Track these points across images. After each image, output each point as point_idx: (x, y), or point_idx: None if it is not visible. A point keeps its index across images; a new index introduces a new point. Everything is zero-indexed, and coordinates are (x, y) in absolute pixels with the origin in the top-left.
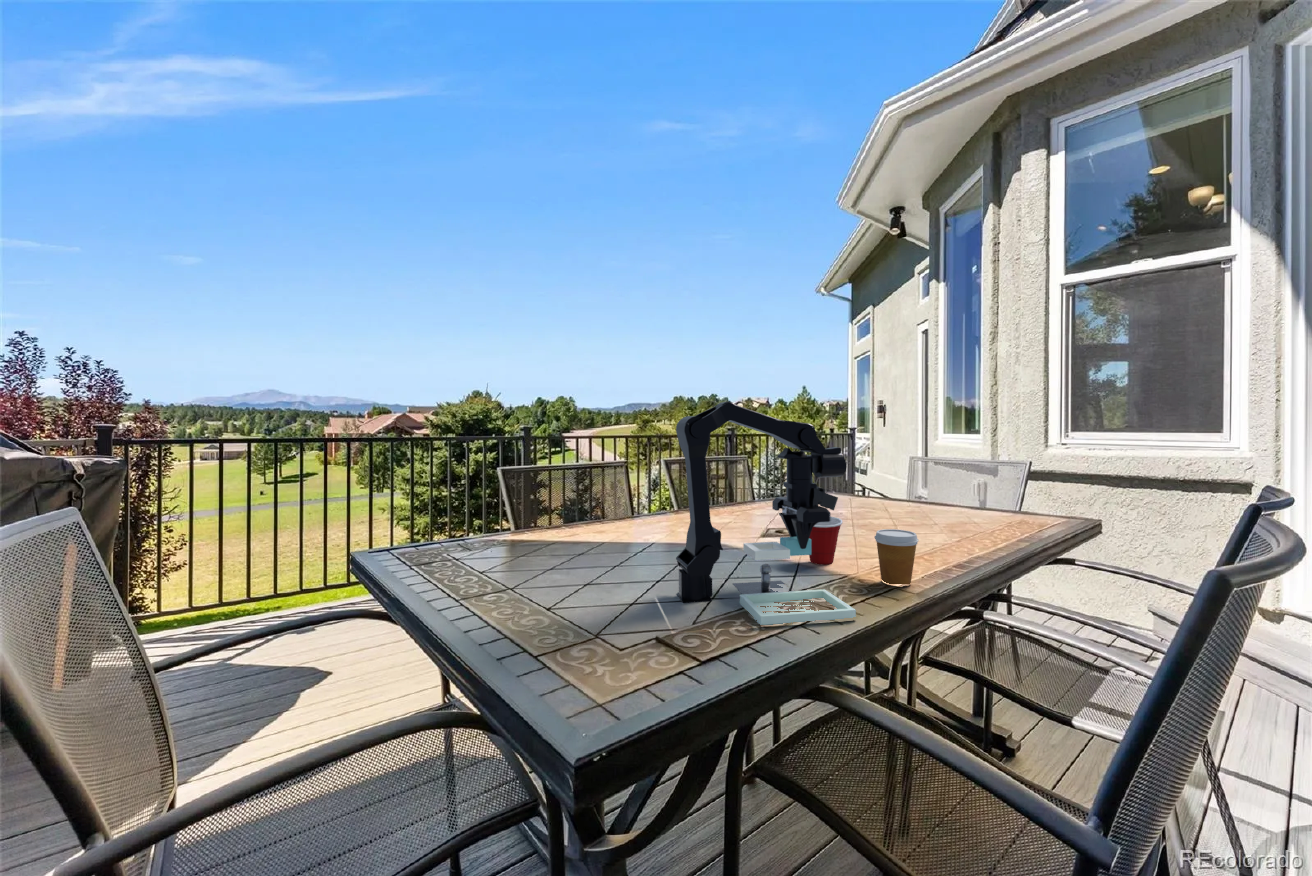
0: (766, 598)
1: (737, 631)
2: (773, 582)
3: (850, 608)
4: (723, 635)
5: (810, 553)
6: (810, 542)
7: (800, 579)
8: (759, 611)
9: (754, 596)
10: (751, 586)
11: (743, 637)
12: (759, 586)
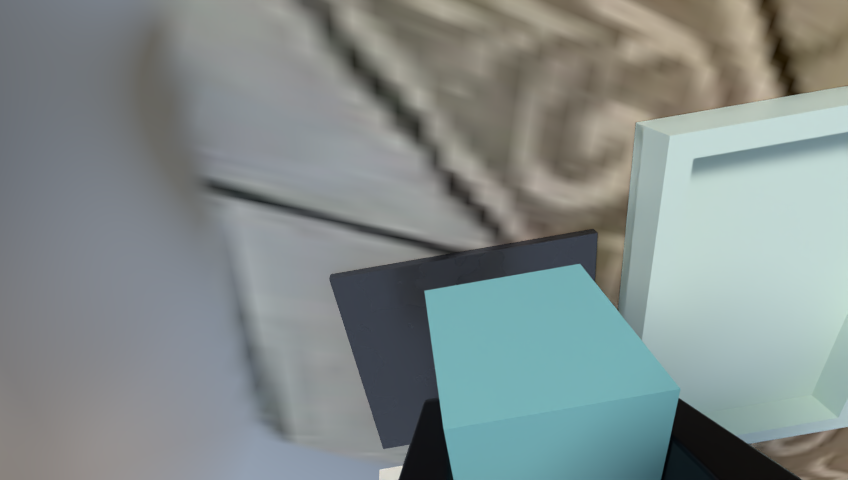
0: None
1: (800, 441)
2: (364, 315)
3: None
4: (807, 465)
5: (585, 279)
6: (652, 364)
7: (256, 161)
8: (807, 426)
9: None
10: (425, 396)
11: (843, 432)
12: (427, 372)
